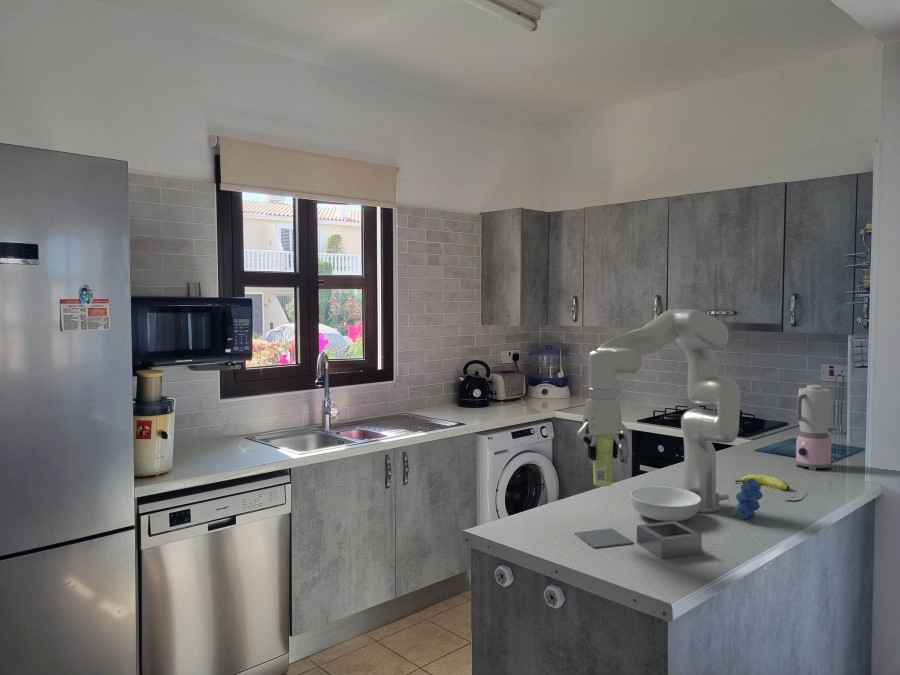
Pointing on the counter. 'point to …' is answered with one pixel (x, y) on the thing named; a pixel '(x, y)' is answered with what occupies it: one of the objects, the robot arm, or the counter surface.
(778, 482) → the banana
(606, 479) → the tube
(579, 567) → the counter surface
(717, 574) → the counter surface
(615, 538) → the mat
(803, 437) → the blender
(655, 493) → the serving bowl
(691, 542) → the housing
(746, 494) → the grapes
